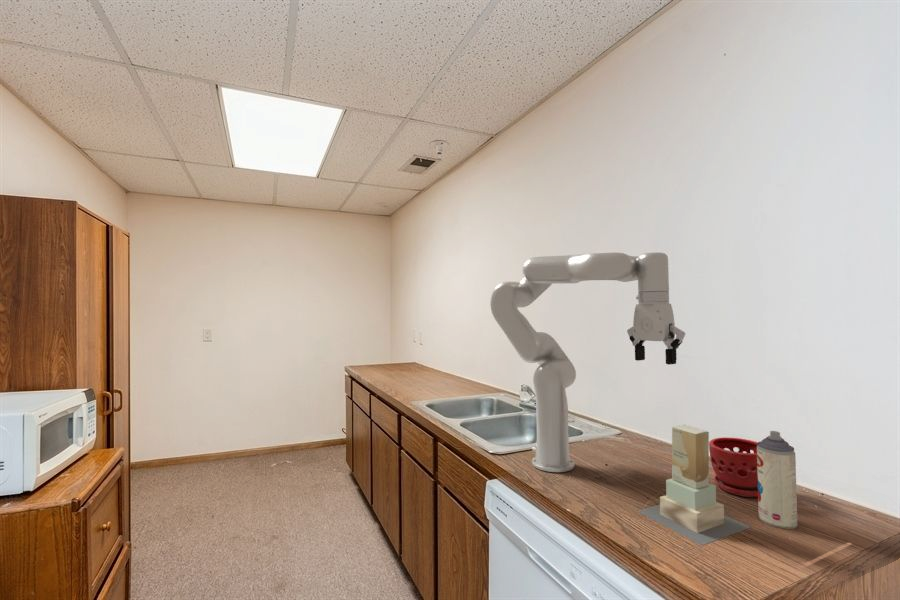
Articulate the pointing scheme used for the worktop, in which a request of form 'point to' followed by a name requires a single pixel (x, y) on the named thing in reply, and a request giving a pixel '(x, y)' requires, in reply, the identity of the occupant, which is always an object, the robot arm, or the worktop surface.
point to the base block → (692, 515)
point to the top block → (691, 494)
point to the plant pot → (735, 465)
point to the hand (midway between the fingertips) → (654, 362)
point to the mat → (701, 537)
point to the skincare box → (690, 456)
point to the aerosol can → (777, 482)
